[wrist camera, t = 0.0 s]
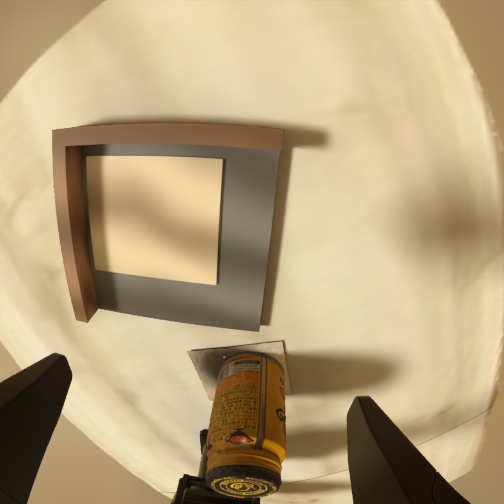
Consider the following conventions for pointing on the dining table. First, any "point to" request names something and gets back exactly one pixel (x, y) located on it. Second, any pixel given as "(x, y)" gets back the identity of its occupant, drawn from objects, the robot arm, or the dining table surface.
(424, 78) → the dining table surface
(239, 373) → the condiment
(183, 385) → the dining table surface
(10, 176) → the dining table surface
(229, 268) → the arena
